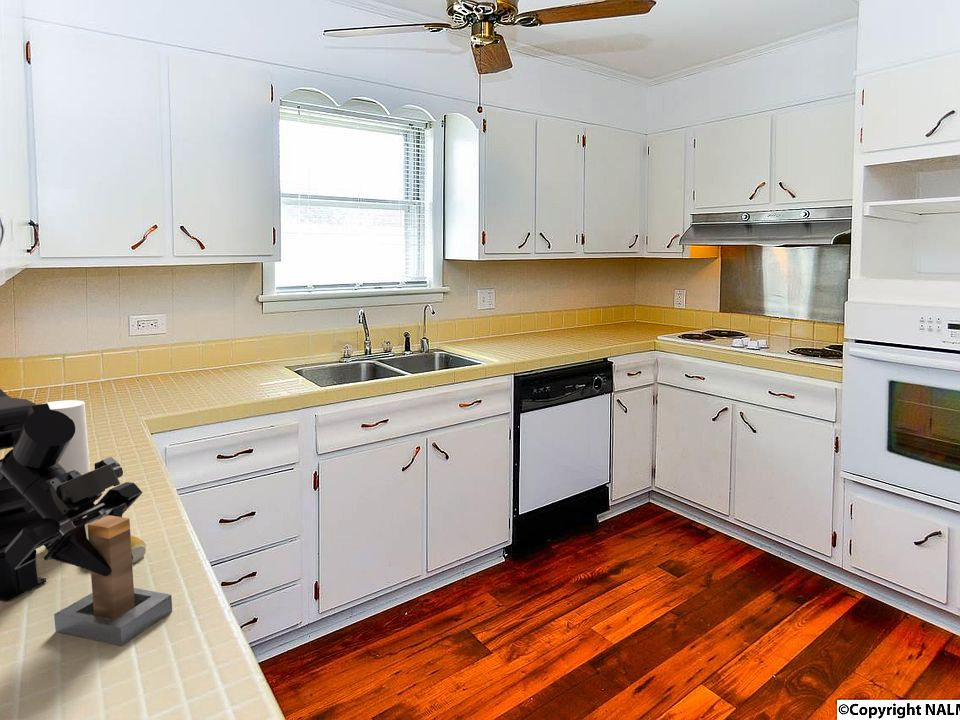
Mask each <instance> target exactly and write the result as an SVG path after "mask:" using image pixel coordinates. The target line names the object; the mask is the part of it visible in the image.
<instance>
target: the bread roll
mask: <svg viewBox="0 0 960 720" xmlns="http://www.w3.org/2000/svg"><path fill="white" fill-rule="evenodd" d="M146 550H147V545H146V544H145V541H143V540H142V539H141V538H140V537H137V536H134V535H131V552H132V556H133V559H132V564H134V563H137V562H138V561H140V560H141V559H142V558H143V557H144V556H145V554H146ZM139 559H140V560H139Z"/></svg>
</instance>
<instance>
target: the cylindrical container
mask: <svg viewBox="0 0 960 720" xmlns="http://www.w3.org/2000/svg"><path fill="white" fill-rule="evenodd" d="M44 403H45V402H44ZM44 403H41V404H44ZM46 403H47V404H48V406H49V408H50V410H55V411H59V412H61V413H64V414H65V415H67V416H68V417H69V418H70V419H72V420H73V422H74V424H75V434H74V436H73V438H72V440H71V442H70V443H69V445H68V447H67V449H66V451H65V453H64V455H63V456H62V458H61V459H60V461H59V462H58V463H59V464H60V465H61V466H62V467H63V469H64V470H65V471H66V472H67V473H68V472H70V471H73V470H75V471H78V472H79V473H80V474H81V475H83V474H86V473H88V472H91V463H90V452H89V438H88V427H87V414H86V413H87V412H86V404H85V401H83V400H78V399H77V400H76V399H74V400H73V399H70V400H69V399H68V400H57V401H56V400H55V401H48V402H46ZM85 517H87V516H84V517H83V518H85ZM85 529H86V535H87V539H88V541H89V538H88V523H87V524H85Z"/></svg>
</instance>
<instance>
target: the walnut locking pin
mask: <svg viewBox="0 0 960 720" xmlns="http://www.w3.org/2000/svg"><path fill="white" fill-rule="evenodd" d="M131 536H132V535H131V523H130V518H128V517H123V516H122V517H117V516H110V515H108V516H106V517H104V518H102V519H99V520H97V521H95V522H92V523H90V524H88V538H89V542H90V543H91V544H92V545H93V546H94V548H95V549H96V550H97V551H98V552H99V554H100V555H101V556H102V557H103V558H104V559H105V561H106V562H107V563H108V565H109V567H110V568H111V570H112V572H111V573H110V574H109V575H108V576H103V575H100V574H97V573H95V572H92V571H90V578H91V591H92V592H91V593H92V595H93V609H94V616H98V617H102V618H107V619H112V620H115V619H117V618H118V617H120V616H121V615H123V614H125V613H126V612H128V611H129V610H131V609H133V608H134V607H135V600H134V588H135V586H134V571H133V563H132V552H131Z"/></svg>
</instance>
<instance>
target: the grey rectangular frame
mask: <svg viewBox="0 0 960 720" xmlns="http://www.w3.org/2000/svg"><path fill="white" fill-rule="evenodd" d="M172 599H173V598H172V594H170V593H165V592H159V591H153V590H148V589H142V588H137V587H134V600H135V607H134V608H133V609H131V610H129V611H128V612H126V613H125V614H123V615H121V616H120V617H118V618H117V619H115V620H112V619H107V618H102V617H98V616H94V609H93V595H92V592H91V593H89V594H88V595H86V596H84V597H82V598H80V599H79V600H77V601H75V602H73V603H72V604H70V605H68V606H66V607H64V608H62V609H61V610H59V611H57V612H55V613H54V614H53V617H54V627H55V632H56V633H59V634H65V635H70V636H73V637H74V636H75V637H79V638H84V639H88V640H93V641H98V642H102V643H108V644H112V645H117V646H120V647H121V646H124V645H125V644H126V643H128V642H130V641H131V640H132V639H134V638H135V637H137V636H138V635H139V634H141V633H143V632H144V631H145V630H147V629H148V628H149V629H150V627H151V626H153V625H154V624H156V623H157V622H159V621H160V620H161V619H164V618H165V617H166V616H168V615H169V614H170V613H172V612H173V601H172Z"/></svg>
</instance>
